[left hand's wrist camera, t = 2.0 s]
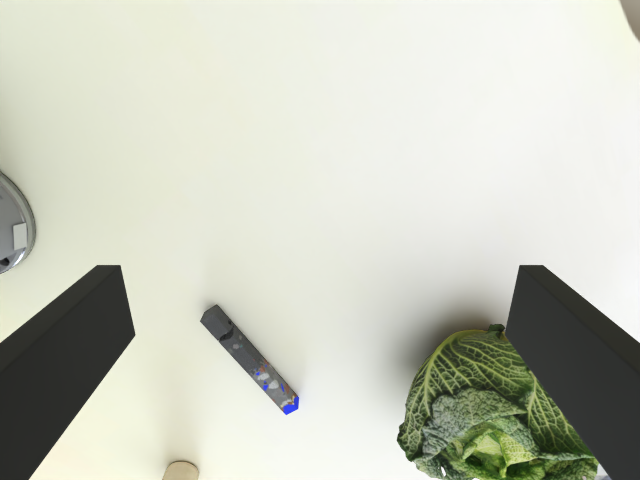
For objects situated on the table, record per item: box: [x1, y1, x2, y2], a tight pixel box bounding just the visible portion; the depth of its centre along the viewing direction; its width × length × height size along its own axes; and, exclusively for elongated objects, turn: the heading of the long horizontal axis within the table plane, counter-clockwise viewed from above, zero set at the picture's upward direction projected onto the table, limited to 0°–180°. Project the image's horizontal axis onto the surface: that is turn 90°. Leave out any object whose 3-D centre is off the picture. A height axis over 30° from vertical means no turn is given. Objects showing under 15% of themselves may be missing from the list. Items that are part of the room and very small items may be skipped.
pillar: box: [200, 305, 299, 415], centre depth 55 cm, size 2×2×20 cm
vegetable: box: [397, 324, 599, 480], centre depth 48 cm, size 20×19×20 cm
